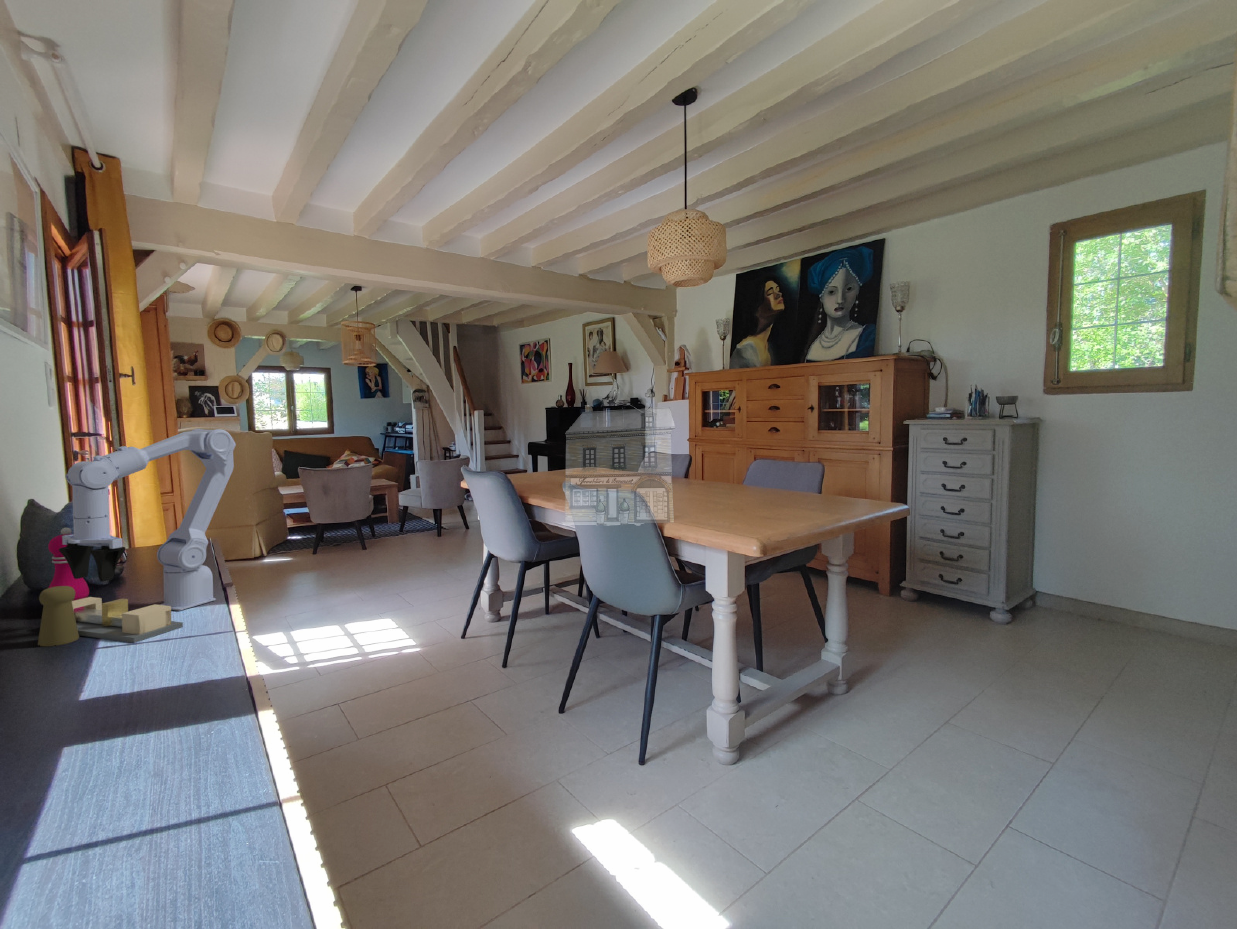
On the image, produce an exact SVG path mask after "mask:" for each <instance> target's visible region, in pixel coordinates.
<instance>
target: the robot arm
mask: <svg viewBox="0 0 1237 929" xmlns="http://www.w3.org/2000/svg"><path fill="white" fill-rule="evenodd" d="M236 446H237V444H236V442H235V440H234V438H233V436H232V435H231V433H229V432H228V431H227V430H224V429H221V428H220V429H219V428H215V429H203V428H194V429H192V430H190V431H189V430H187V431H183V432H181V433H178V434H175V435H173V436H170V437H168V438H165V439H163V440H160V441H157V442H155V443H152V444H150V445H147V446H145V447H142V448H138V447H135V446H129V447H128V446H125V445H122V446H119V447H117V451H113V452H110V453H108V454H104V455H94V456H93V458H92V461H88V460H87V461H82V460H81V461H78V462H76V463H74V464H73V465H71V466H70V468H69V469H68V470H67V471H68V472H67V474H65V475H64V476H65V480H66V481H67V483H68V484H69V485H70V486H71V487H72V488H71V489H72V519H73V533H71V534H72V535H65V536H62V539H63V545H67V546H66V547H63V548H59V551H60V552H61V554H62V555H63V556H64V557H65V559H66V560H67V562H68V564H69V566H70V569H71V571H72V574H73V576H74V579H79V578H83V579H84V578H87V577H88V575H89V571H90V559H91V555H92V557H93V559H94V563H95V564H96V568H97V570H96V571H97V575H98V580H99V582H106V581H111V580H113V579H114V577H115V576H114V575H115V572H116V569H117V566H118V563H119V561H120V559H121V557H122V556H123V554H124V552H126V547H125V546H124V545H123V538H121V537H116V536H114V535H111V530H110V527H111V526H110V504H109V503H110V500H109V486H110V485H111V484H113V482H114V481H117V480H119V479H122V478H125V477H127V476H129V475H133V474H135V473H138V472H140V471H143V470H145V469H146V468H147V466H148V464H149V462H151V461H155V460H159V459H161V458H164V457H167V456H170V455H173V454H176V453H179V452H182V451H190V452H191V453H192V454H193V455H194V456H196V457H197V458H198V459H199V460H200V461H201V463H202V464H203V466H204V467H205V470H204V473H203V475H202V477H201V479H200V482H199V484H198V486H197V488H196V490H195V492H194V495H193V497H192V499H191V501H190V504H189V506H188V508H187V510H186V512H185V514H184V517H183V519H181V520H182V521H181V523H180V525H179V527H177V529H175V530H174V531H173V532H172V533H170V534H169V536H168V538H167V539H166V541H164V542H163V543H162V544H161V545H160V546H159V548H158V549H157V552H156V559H157V561H158V562H159V563H160V564H161V565H162V566H163V570H162V571H163V572H162V573H163V574H162V575H163V603H161V604H158V605H165V606H171V611H182V610H187V609H190V608H193V607H196V606H200V605H204V604H207V603H210V602H213V601H216V600H217V598H215V597H214V583H213V582H214V579H213V578H214V577H213V576H214V575H213V572H212V571H211V568H210V567H208V566H207V565H203V564H204V563H205V561H206V558H207V547H208V544H209V540H208V538H207V536H206V532H207V530H208V528H209V525H210V523H211V521H212V519H213V516H214V513H215V511H216V510H217V507H218V504H219V502H220V501H221V499H222V496H223V494H224V492H225V490H226V486H227V484H228V482H229V480H230V477H231V476H232V473H233V471H234V468H235V467H234V466H235V464H234V462H235V461H234V450H235V448H236ZM73 534H74V535H73ZM94 547H96V549H94ZM97 547H99V548H97Z"/></svg>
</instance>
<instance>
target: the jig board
mask: <svg viewBox="0 0 1237 929" xmlns="http://www.w3.org/2000/svg"><path fill="white" fill-rule="evenodd" d="M102 603H103V601H102V597H93V596H87V598H83V599H79V600H75V601H72V605H73V610H74V609H75V608H79V607H83V606H84V608H89V609H98V610H102ZM183 623H184V622H181V621H176V620H175V621H173V620H172V610H171V606H165V605H159V604H157V603H156V604H155V603H154V604H152V605H151V604H150V605H148V606H147V605H146V606H144V607H139V608H136V609H133V610H128V612H125V613H122V627H119V626H111V625H110V626H103V625H102V624H96V623H88V622H80V621H76V624H77V629H78V634H79V636H82V637H90V638H97V639H104V640H110V641H119V642H124V643H126V642H127V643H138V642H140V641H141V642H142V641H145V640H147V639H150V638H154V637H156V636H159V635H162V634H166V633H168V632H171V631H175V630H177V629H180V628H183V625H184V624H183Z"/></svg>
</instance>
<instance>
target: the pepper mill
mask: <svg viewBox="0 0 1237 929" xmlns="http://www.w3.org/2000/svg"><path fill="white" fill-rule="evenodd" d="M72 534H73V535H74V533H72V529H71V528H69V527H63V528H62V529H60V534H59V535H57V536H54V537H52V539H50V541H49V543H48V545H47V546H48V551H49V552H50V553H51V554H52V555H53V556H52V557H51V559H52V561H51V563H52V564H54V574H53V578H52V580H51V582H50V585H49V586H48V588H51V587H57V586H70V587H72V588H73V589H74V590H75V598H74V600H73V601H75V600H79V599H83V598H88V597H89V595H90V588H89V586H88V583H87V581H86V580H85V578H84V577H83V578H79V579H74V576H73V574H72V571H71V569H70V566H69V564H68V562H67V560H66V559H65V557H64V556H63V555H62V554H61V552H60V551H59V548H63V547H66V546H67V545H63V539H62V536H65V535H72ZM79 608H84V606H83V607H79ZM75 609H77V608H75Z"/></svg>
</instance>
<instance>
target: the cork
mask: <svg viewBox="0 0 1237 929" xmlns="http://www.w3.org/2000/svg"><path fill="white" fill-rule="evenodd" d="M74 598H75V590H74V589H73V588H72V587H70V586H57V587H51V588H49V587H47V588H46V589H43V590H42V591H41V592H40V594H39V596H38V600H39V603H40V604H41V605H43V607H42V613H41V614H42V615H41V620H40V627H39V633H38V640H37V646H39V645H40V646H39V647H54V646H55V645H56V646H62V645H66V644H70V643H72V642H75V641H77V640H80V635H79V634H78V629H77V624H76V620H75V615H74V610H73V605H72V601H73V600H74Z"/></svg>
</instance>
